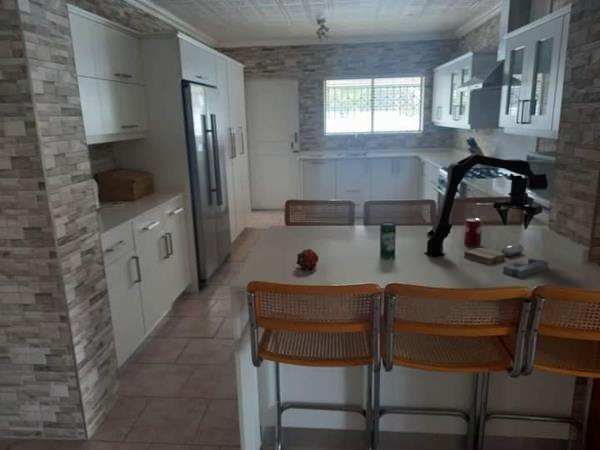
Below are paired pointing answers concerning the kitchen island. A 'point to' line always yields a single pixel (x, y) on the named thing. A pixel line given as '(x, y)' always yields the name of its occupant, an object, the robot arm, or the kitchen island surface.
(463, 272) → the kitchen island surface
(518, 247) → the roller
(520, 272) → the stop cradle
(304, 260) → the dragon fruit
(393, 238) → the can
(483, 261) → the slab
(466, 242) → the soda can
